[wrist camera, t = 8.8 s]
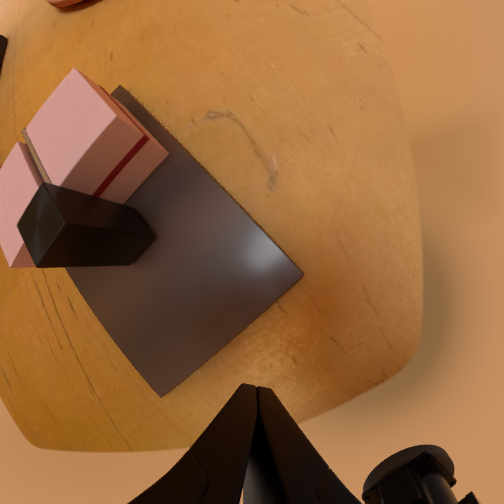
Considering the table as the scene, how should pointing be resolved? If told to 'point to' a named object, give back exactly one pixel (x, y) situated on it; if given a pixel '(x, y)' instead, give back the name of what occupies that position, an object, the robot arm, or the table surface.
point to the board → (184, 269)
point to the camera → (2, 46)
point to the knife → (79, 227)
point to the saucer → (62, 2)
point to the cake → (75, 155)
